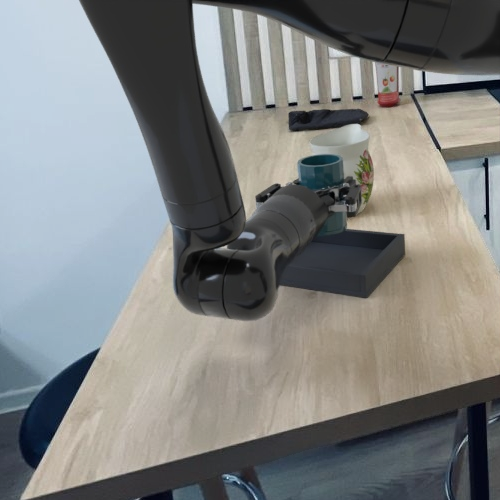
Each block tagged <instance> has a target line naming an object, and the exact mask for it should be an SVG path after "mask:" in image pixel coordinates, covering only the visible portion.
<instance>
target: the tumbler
mask: <svg viewBox="0 0 500 500" xmlns="http://www.w3.org/2000/svg"><path fill="white" fill-rule="evenodd" d="M296 165H297V166H296V167H297V176H298V178H299V185H301V186H305V187H307V188H309V189H314V188H315V189H319V188H322V187H324V186H327V185H335V186H337V185H340V184H341V183H342V181H344V165H343V157H341V156H340V155H335V154H318V155H313V154H312V155H307V156H305V157H302V158H299V159H298V160H297V163H296ZM327 194H328V193H327ZM340 198H341V191H340V192H339V199H340ZM346 229H348V217H347V215H346V214H345V213H344V212H335V214H334V215H332V216H330V217H328V218H327V219H326V221H325V224H324V226H323V228H322V230H321V231H320V232H319V234H318V235H317V236H328V235H334V234H338V233H341V232H343V231H344V230H346Z"/></svg>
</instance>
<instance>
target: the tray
mask: <svg viewBox="0 0 500 500" xmlns="http://www.w3.org/2000/svg"><path fill="white" fill-rule="evenodd" d="M405 240H406V239H405V233H395V232H386V231H385V232H384V231H375V230H364V229H354V228H353V229H352V228H346V230H344V231H343V232H341V233H338V234H334V235H328V236H316V237H315V238H314V239H313V241H312V242H311V243H310V244H309V245H308V246H307V248H306V249H305V250H304V251H303V252H302V253H301V254H300V255H299V256H298V257H296V258H295V259H294V260H293V261H292V262H291V263H290V264H289V265H288V266H287V268H286V269H285V270H284V272H283V275H282V278H281V281H280V285H279V286H284V287H291V288H296V289H297V288H298V289H303V290H304V289H305V290H312V291H317V292H324V293H331V294H336V295H343V296H344V295H345V296H349V297H357V298H363V299H364V298H365V299H367V298H368V297H370V295H371V294H372V293H373V291H374V290H375V289H377V287H378V286H379V285H380V284H381V283H382V282H383V281H384V279H385V278H386V277H387V276H388V275H389V274H390V273H391V271H392V270H393V269H394V268H395V267H396V266H397V265H398V263H400V261H401V260H402V259H403V258H404V256H406V241H405Z"/></svg>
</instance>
